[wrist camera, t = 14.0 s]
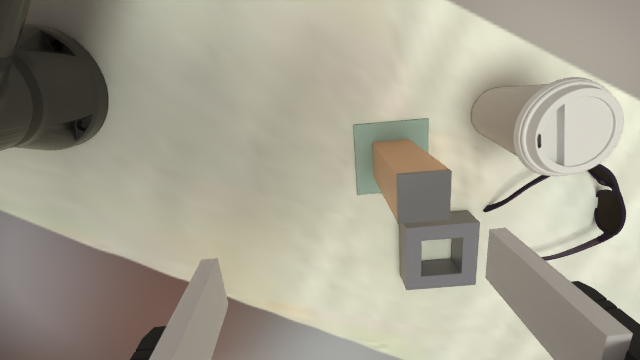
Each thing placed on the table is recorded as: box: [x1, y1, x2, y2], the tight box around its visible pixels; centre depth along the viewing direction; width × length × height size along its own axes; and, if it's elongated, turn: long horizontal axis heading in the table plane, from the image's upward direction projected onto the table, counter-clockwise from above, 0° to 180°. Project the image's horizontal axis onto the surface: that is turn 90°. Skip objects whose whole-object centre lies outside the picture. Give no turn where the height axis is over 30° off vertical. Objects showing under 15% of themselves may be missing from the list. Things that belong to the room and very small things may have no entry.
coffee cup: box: [471, 77, 624, 176], centre depth 37 cm, size 10×10×15 cm
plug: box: [372, 139, 452, 224], centre depth 39 cm, size 5×5×15 cm
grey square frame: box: [399, 211, 480, 290], centre depth 49 cm, size 10×10×4 cm
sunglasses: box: [483, 164, 626, 261], centre depth 47 cm, size 14×16×5 cm
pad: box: [354, 119, 429, 195], centre depth 46 cm, size 10×10×1 cm
